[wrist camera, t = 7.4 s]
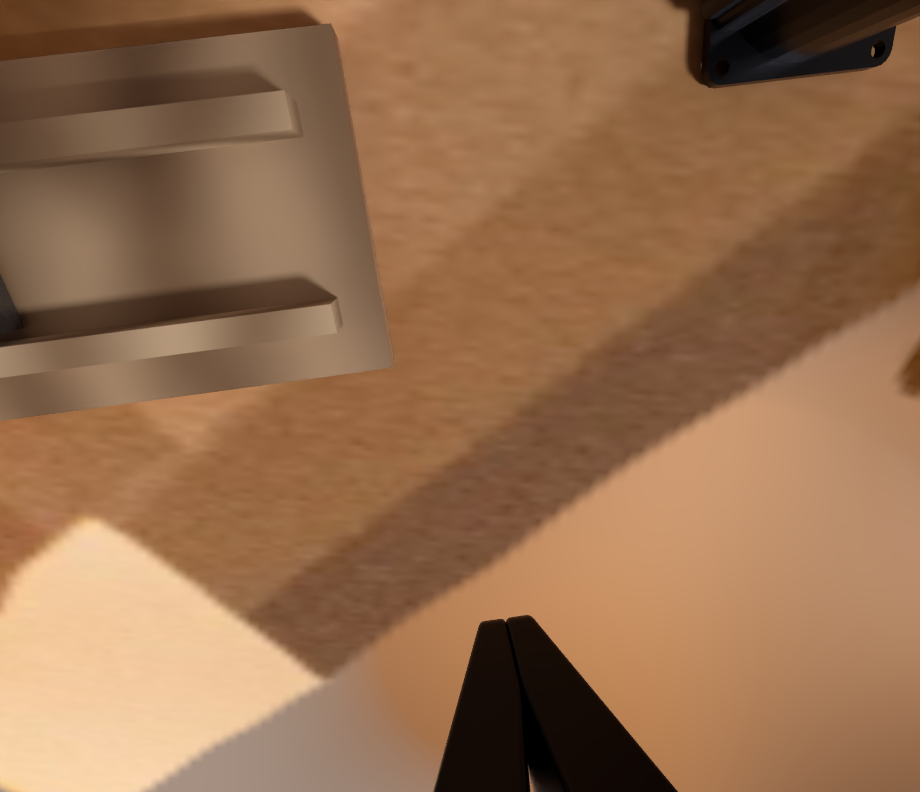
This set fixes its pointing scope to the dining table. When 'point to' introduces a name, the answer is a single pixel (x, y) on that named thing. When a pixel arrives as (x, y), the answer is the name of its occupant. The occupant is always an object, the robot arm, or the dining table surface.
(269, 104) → the rail
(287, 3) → the dining table surface
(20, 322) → the dark grey rectangular block
